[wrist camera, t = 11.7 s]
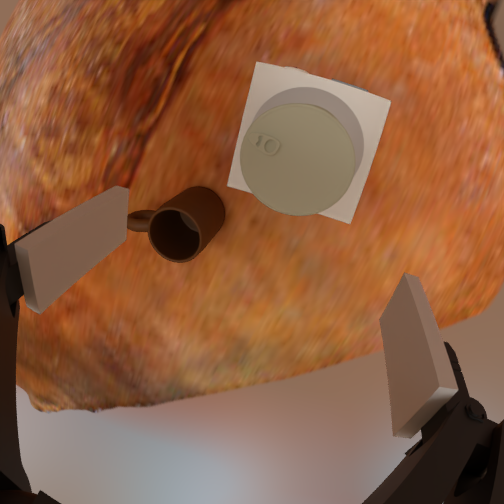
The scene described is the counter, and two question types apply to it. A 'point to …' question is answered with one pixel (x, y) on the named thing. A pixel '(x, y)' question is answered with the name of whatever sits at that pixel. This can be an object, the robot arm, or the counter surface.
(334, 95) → the scale
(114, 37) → the counter surface
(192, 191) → the mug
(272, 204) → the can
